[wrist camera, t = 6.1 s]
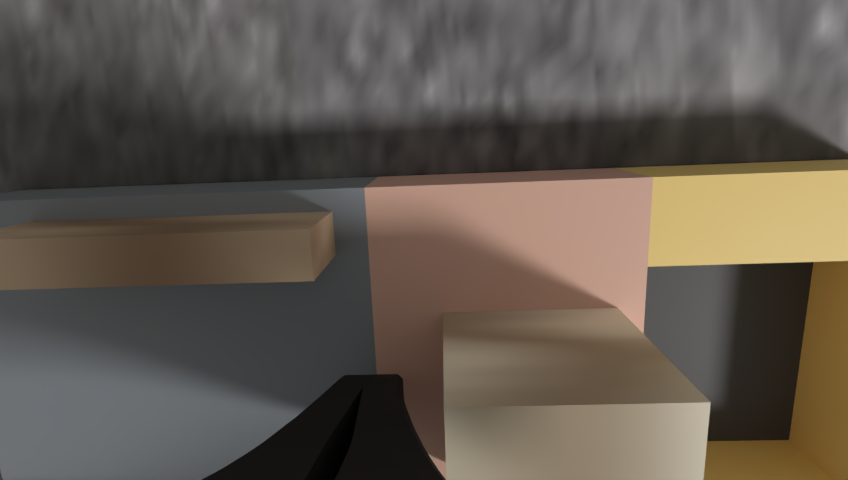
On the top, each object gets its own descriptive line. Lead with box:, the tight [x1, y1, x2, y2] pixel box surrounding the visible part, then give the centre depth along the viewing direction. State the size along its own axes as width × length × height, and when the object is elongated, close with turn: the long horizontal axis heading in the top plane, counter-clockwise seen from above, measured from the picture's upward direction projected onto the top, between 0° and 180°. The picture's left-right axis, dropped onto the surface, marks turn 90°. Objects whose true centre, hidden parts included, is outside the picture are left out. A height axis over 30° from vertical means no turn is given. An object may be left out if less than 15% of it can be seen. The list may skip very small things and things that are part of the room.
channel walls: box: [0, 211, 336, 290], centre depth 11 cm, size 7×9×2 cm
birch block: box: [443, 308, 711, 480], centre depth 10 cm, size 4×4×4 cm
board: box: [0, 159, 848, 480], centre depth 13 cm, size 22×10×2 cm, turn 92°
